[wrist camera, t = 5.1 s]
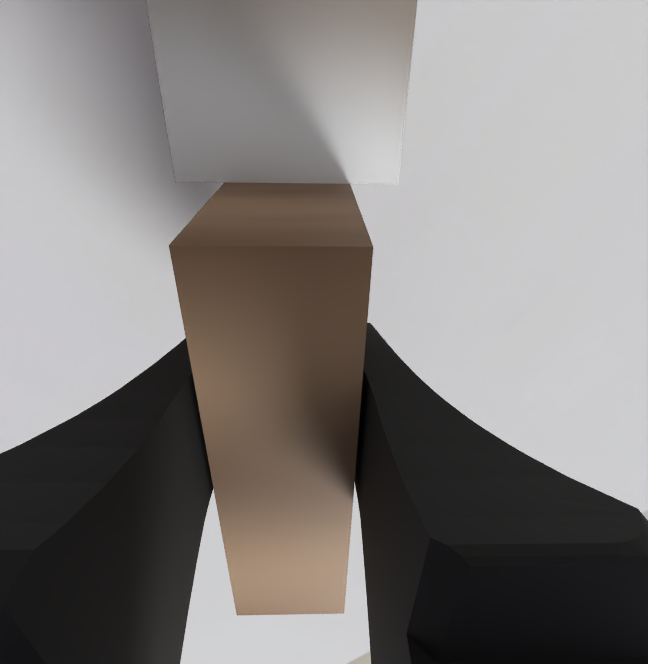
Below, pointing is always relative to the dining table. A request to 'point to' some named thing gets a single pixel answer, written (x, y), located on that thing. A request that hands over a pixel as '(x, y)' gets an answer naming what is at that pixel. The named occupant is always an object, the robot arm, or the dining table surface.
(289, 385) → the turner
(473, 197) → the dining table surface
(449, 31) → the dining table surface
